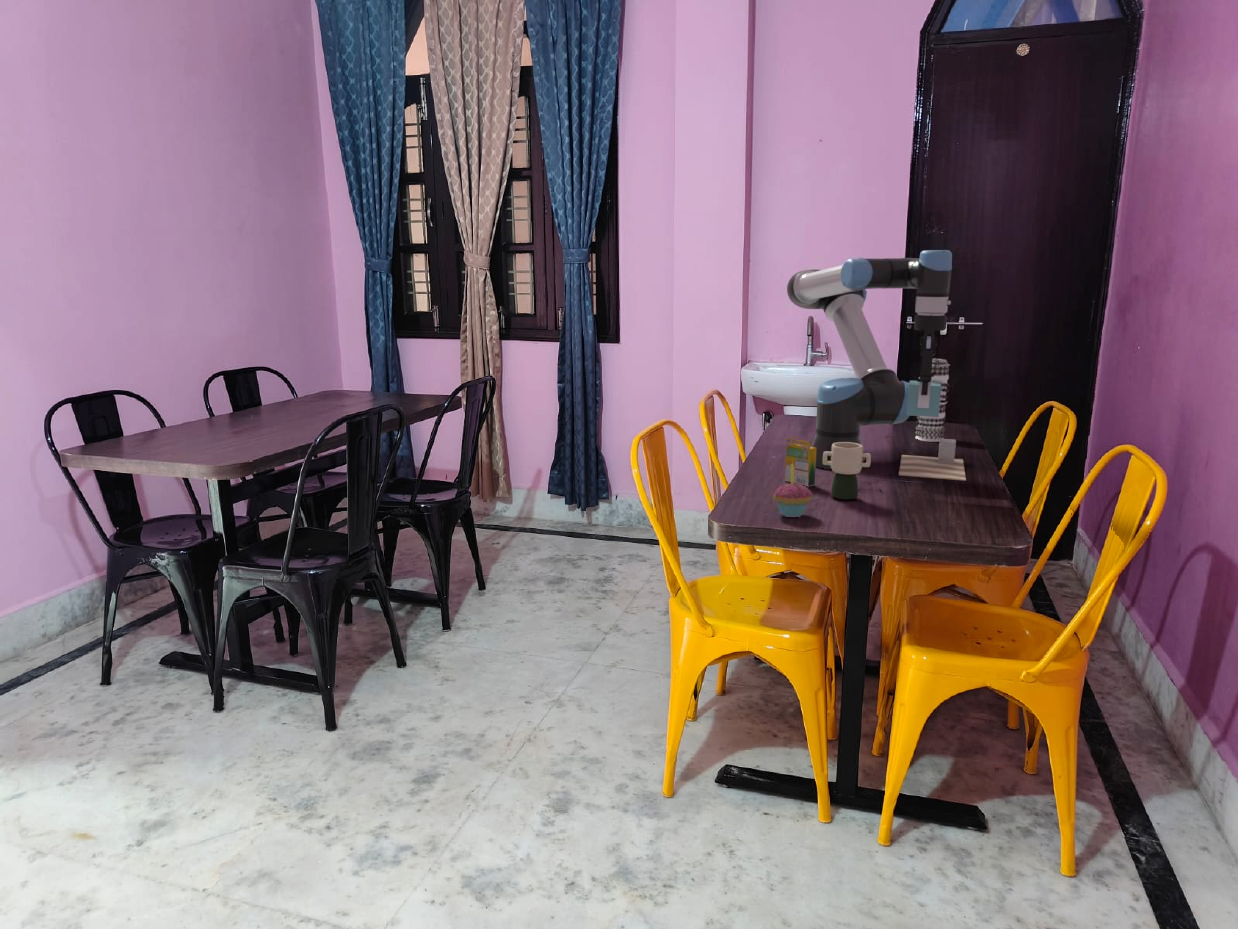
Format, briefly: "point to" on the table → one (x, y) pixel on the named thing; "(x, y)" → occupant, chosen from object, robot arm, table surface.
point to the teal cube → (933, 402)
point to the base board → (931, 468)
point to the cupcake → (792, 497)
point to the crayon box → (800, 462)
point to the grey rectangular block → (946, 451)
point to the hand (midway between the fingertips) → (923, 404)
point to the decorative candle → (933, 426)
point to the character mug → (846, 468)
